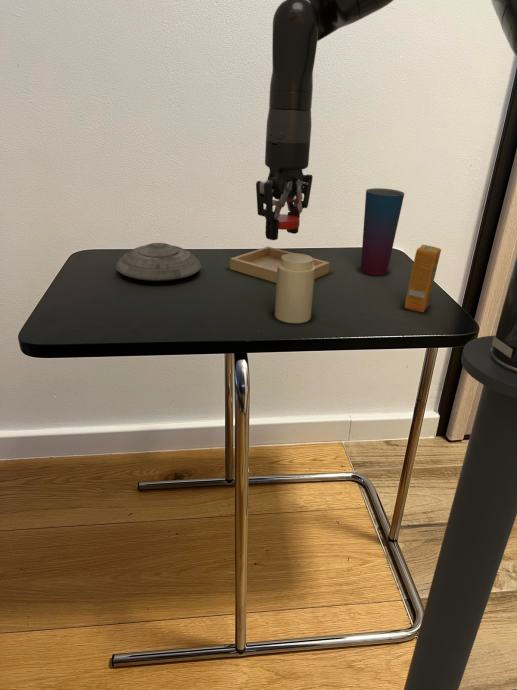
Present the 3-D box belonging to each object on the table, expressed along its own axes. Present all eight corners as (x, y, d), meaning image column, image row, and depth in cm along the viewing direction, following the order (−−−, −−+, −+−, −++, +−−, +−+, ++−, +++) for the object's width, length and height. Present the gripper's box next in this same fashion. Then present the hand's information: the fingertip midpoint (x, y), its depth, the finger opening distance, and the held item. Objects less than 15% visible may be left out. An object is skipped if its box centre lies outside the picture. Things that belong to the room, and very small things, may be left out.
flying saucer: (189, 258, 107) (188, 230, 104) (211, 283, 94) (211, 252, 92) (111, 263, 102) (108, 235, 99) (123, 291, 89) (121, 259, 87)
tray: (328, 273, 102) (329, 262, 101) (293, 288, 94) (294, 276, 93) (267, 256, 110) (267, 246, 109) (229, 269, 102) (230, 258, 101)
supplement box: (425, 313, 86) (437, 252, 82) (403, 308, 87) (414, 248, 83) (429, 307, 89) (441, 247, 84) (409, 302, 90) (419, 243, 86)
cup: (353, 274, 102) (363, 192, 96) (358, 264, 108) (368, 186, 101) (389, 279, 100) (402, 196, 94) (393, 268, 106) (406, 190, 100)
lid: (259, 225, 98) (260, 218, 97) (279, 220, 102) (279, 212, 101) (286, 231, 95) (286, 223, 94) (305, 225, 99) (306, 217, 98)
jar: (316, 314, 84) (322, 256, 80) (301, 326, 79) (306, 266, 75) (284, 306, 86) (288, 250, 82) (268, 317, 82) (271, 259, 78)
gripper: (294, 133, 99) (288, 225, 106) (244, 138, 88) (241, 239, 96) (329, 138, 95) (320, 233, 102) (281, 142, 84) (275, 248, 92)
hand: (282, 235), depth 99 cm, fingers closed on lid, 5 cm apart
